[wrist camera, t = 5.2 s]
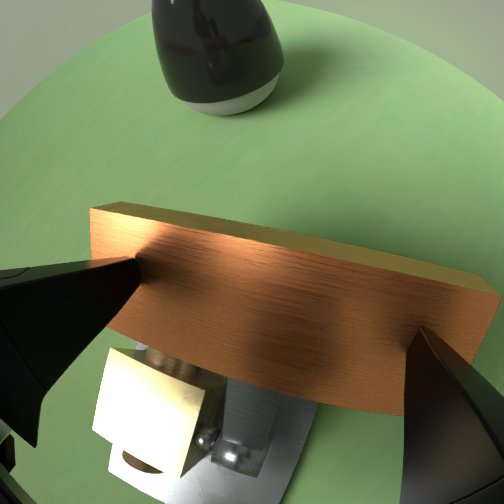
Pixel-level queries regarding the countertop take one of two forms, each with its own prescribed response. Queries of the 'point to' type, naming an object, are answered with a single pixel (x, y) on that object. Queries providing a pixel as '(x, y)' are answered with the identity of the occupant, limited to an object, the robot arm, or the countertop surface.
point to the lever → (283, 314)
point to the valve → (187, 431)
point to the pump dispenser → (217, 52)
